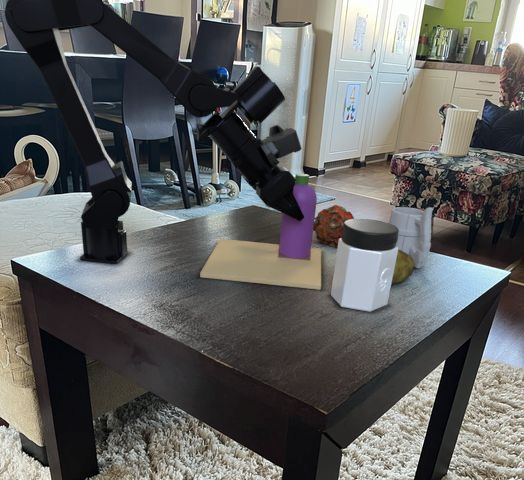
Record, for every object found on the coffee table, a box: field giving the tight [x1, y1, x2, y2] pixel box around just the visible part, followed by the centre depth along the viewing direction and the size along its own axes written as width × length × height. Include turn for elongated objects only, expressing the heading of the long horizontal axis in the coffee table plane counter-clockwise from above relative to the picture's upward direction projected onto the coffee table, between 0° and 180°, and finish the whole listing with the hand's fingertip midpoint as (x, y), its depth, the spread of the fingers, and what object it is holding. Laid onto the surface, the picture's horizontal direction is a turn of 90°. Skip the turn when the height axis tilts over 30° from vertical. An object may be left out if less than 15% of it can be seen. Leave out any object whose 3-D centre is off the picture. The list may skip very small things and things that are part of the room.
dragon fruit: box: [313, 204, 355, 248], centre depth 109 cm, size 8×8×12 cm
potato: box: [391, 249, 415, 285], centre depth 91 cm, size 8×13×8 cm, turn 92°
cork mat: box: [199, 238, 322, 291], centre depth 96 cm, size 20×20×1 cm
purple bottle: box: [278, 173, 318, 259], centre depth 97 cm, size 6×6×14 cm
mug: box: [388, 206, 434, 269], centre depth 99 cm, size 8×12×12 cm, turn 17°
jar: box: [330, 218, 399, 313], centre depth 81 cm, size 9×8×12 cm
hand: (295, 212), depth 97 cm, fingers open, 9 cm apart
